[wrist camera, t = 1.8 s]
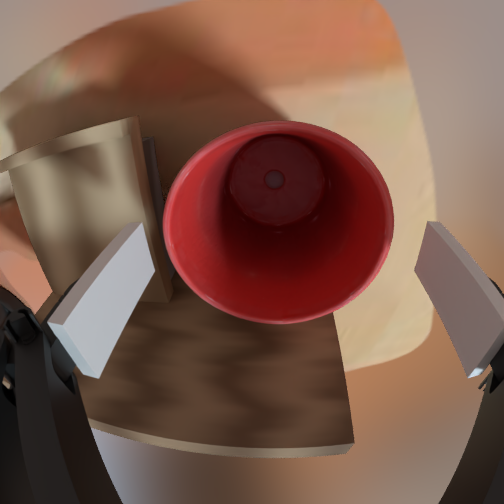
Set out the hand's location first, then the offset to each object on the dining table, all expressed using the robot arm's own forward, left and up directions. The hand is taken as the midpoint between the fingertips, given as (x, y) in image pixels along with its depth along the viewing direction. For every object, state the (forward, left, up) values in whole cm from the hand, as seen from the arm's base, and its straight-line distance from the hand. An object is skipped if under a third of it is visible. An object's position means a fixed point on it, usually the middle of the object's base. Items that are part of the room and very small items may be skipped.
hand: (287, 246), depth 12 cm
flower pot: (0, 0, -10) cm, 10 cm away
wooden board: (-9, -9, -10) cm, 16 cm away
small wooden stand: (-15, -1, -10) cm, 18 cm away
